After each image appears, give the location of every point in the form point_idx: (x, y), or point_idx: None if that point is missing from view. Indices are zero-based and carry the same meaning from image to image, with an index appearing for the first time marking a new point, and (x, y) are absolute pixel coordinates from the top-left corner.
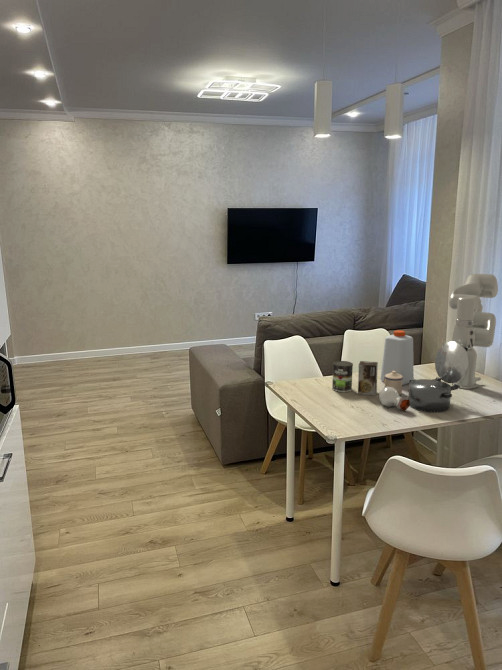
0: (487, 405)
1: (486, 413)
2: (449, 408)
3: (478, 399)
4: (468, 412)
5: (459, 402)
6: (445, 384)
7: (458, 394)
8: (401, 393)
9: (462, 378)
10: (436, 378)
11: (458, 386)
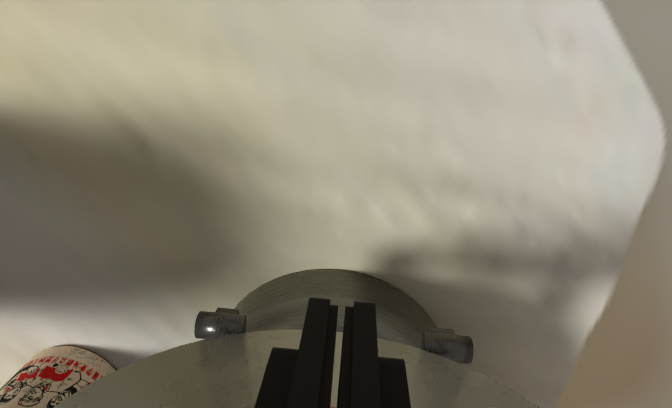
0: (553, 66)
1: (631, 207)
2: (433, 322)
3: (431, 7)
4: (544, 283)
5: (395, 189)
6: None
7: (268, 51)
8: (109, 365)
9: (520, 403)
10: (206, 338)
11: (469, 355)
